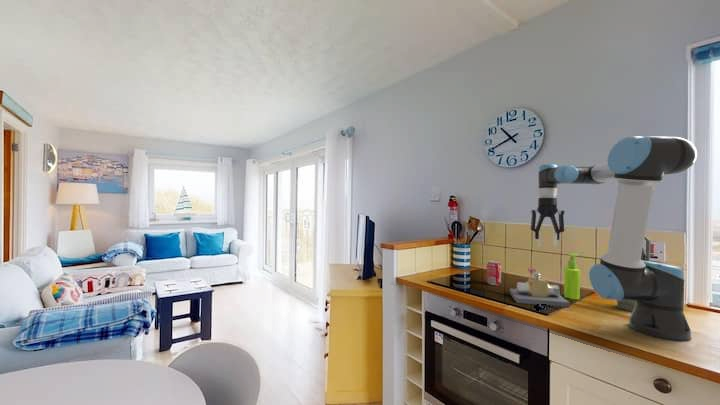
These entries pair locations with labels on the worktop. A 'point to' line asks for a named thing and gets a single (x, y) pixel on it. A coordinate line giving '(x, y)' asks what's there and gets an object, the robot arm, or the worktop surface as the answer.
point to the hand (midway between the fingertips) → (546, 246)
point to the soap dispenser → (572, 279)
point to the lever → (534, 272)
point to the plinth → (539, 299)
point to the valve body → (538, 288)
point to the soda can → (493, 273)
